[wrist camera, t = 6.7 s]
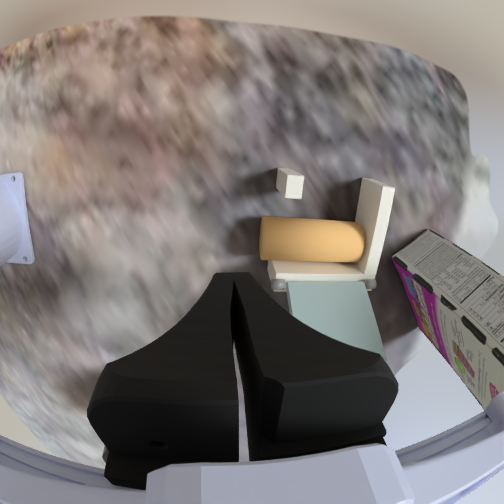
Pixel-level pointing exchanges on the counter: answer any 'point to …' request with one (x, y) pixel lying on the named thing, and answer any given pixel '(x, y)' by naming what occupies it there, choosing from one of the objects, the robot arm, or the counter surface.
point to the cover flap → (337, 312)
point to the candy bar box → (457, 309)
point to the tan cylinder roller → (310, 240)
